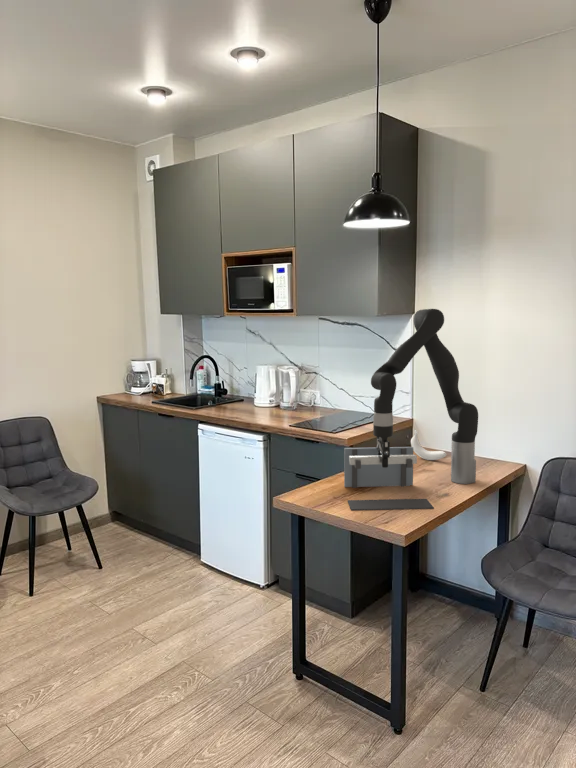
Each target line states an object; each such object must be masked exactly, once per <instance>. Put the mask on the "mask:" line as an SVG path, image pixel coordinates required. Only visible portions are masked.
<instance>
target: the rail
mask: <svg viewBox="0 0 576 768" xmlns="http://www.w3.org/2000/svg"><path fill="white" fill-rule="evenodd" d="M407 460H413V462H412V464H413V465H414V464H418V455H417V454H413V455H390V457H389V458H388V464H407ZM355 461H361V465H372V464H382V455H369V456H349V464H350V465H355Z"/></svg>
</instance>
